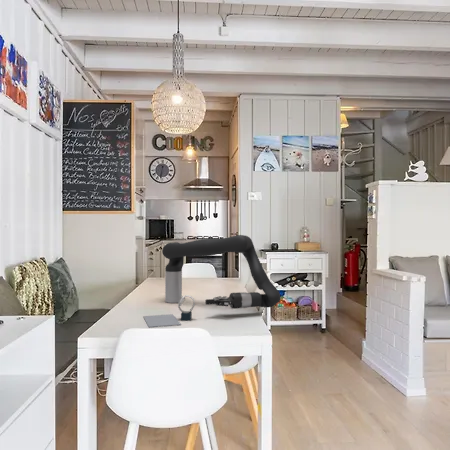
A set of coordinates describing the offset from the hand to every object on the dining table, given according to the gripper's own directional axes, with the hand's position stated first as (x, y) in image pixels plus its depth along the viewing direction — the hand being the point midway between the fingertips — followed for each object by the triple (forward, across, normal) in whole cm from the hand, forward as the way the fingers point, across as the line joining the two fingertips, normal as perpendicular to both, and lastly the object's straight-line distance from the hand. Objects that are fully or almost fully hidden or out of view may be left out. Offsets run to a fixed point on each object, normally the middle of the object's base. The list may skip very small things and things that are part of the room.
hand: (205, 302), depth 193 cm
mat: (+21, 0, +8) cm, 22 cm away
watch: (+9, 0, +8) cm, 12 cm away
